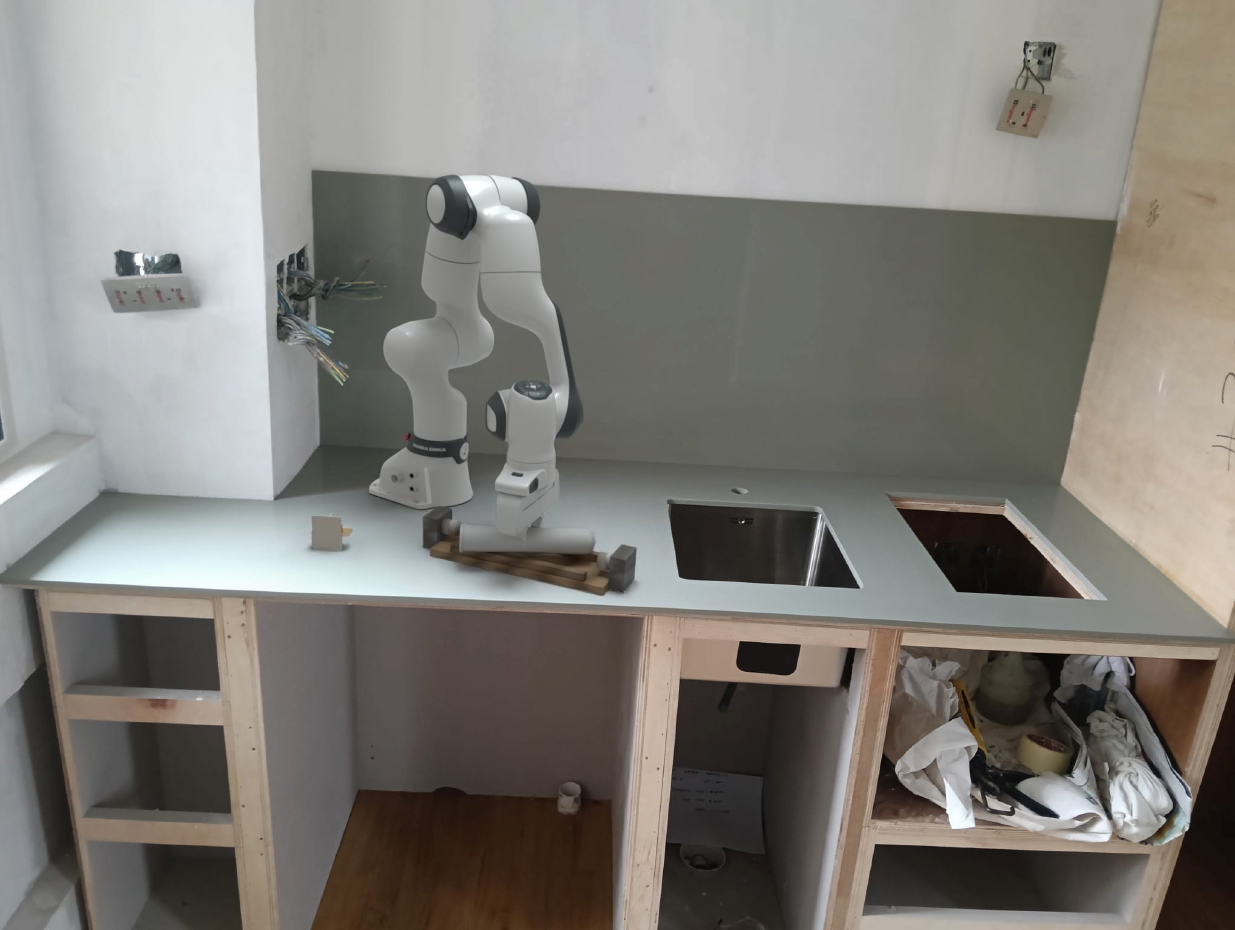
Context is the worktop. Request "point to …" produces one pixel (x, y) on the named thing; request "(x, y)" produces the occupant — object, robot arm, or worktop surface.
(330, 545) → the architectural model
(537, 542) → the tube
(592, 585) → the shaft bed
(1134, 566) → the worktop surface
